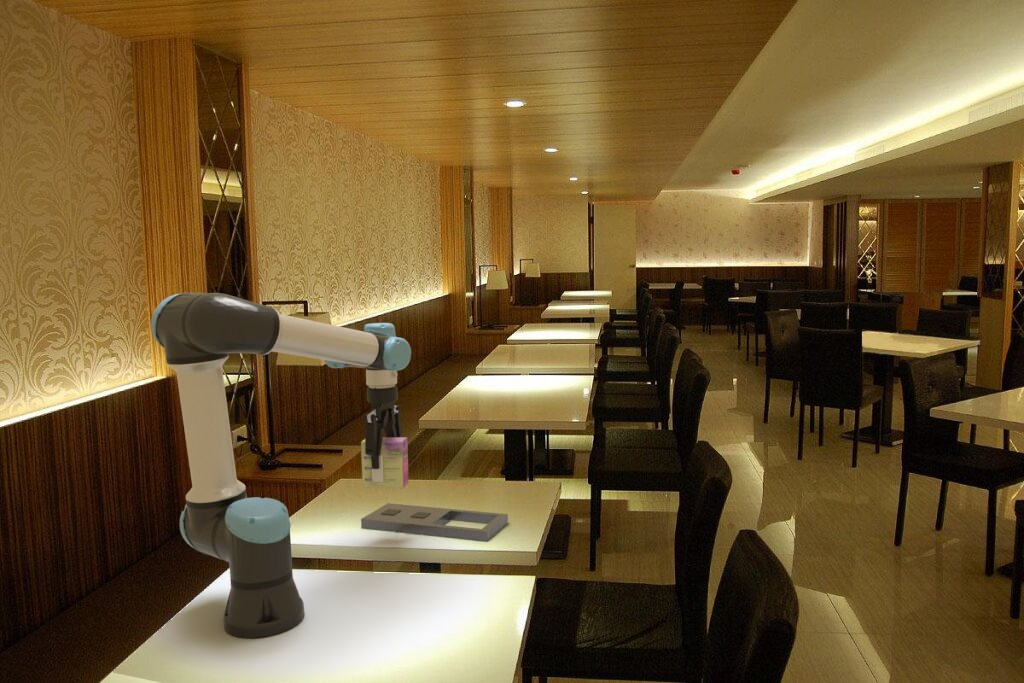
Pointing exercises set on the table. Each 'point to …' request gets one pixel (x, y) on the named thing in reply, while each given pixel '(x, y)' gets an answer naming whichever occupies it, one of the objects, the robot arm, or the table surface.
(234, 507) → the robot arm
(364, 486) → the box
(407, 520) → the plate with rectangular opening
